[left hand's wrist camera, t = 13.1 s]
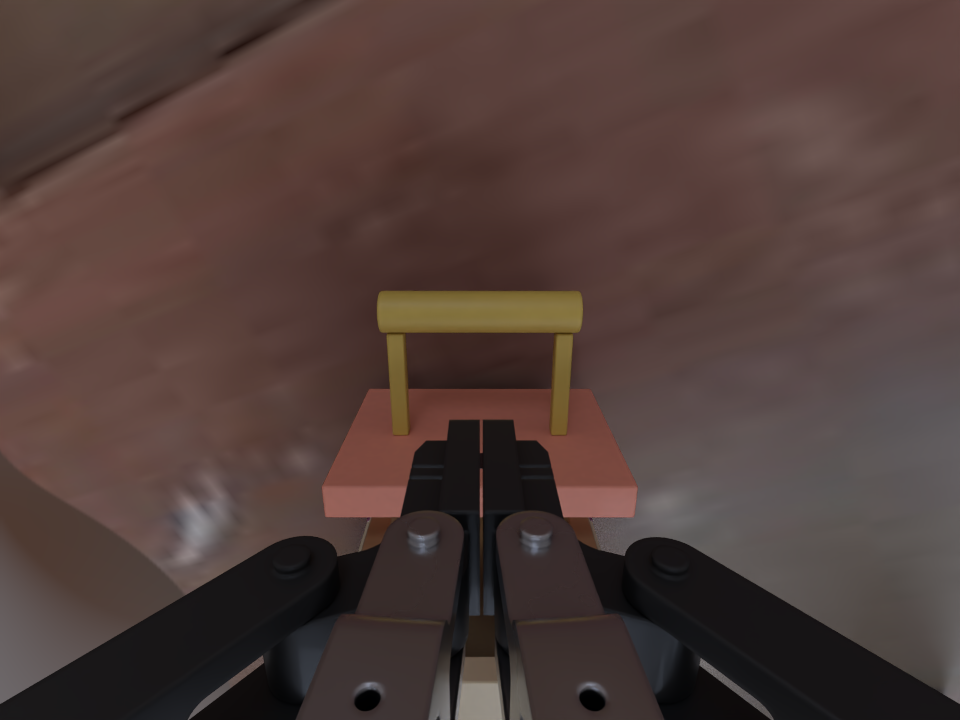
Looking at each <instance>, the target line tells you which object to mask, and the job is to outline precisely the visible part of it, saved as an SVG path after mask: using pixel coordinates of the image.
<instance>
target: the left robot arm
mask: <svg viewBox="0 0 960 720" xmlns="http://www.w3.org/2000/svg"><path fill="white" fill-rule="evenodd" d="M483 615H494V620H495V663H496V671H497V680H498V689H499V697H500V706H501V714H502V720H770V719H769V718H768V717H767V716H765V715H764V714H763V713H761V712H760V711H759V710H757V709H756V708H755V707H753V706H752V705H751V704H749V703H748V702H747V701H745V700H744V699H743V698H741V697H740V696H739V695H738V694H736V693H735V692H734V691H732V690H731V689H730V688H728V687H727V686H726V685H724V684H723V683H722V682H720V681H719V680H718V679H716V678H715V677H714V676H713V675H711V674H710V673H709V672H707V671H706V670H705V669H703V668H702V667H701V666H699V664H700V658H702V659H703V660H705V661H706V662H707V663H709V664H710V665H711V666H713V667H714V668H715V669H717V670H718V671H720V672H721V673H722V674H724V675H725V676H726V677H728V678H729V679H730V680H732V681H733V682H734V683H736V684H737V685H738V686H740V687H741V688H742V689H744V690H745V691H746V692H748V693H749V694H750V695H752V696H753V697H754V698H756V699H757V700H758V701H759V702H761V703H762V704H763V705H764V706H765V708H766V709H767V710H768V711H769V712H770V714H771V715H772V717H773V718H774V720H960V704H959V703H957V702H955V701H953V700H952V699H950V698H948V697H947V696H945V695H943V694H942V693H940V692H938V691H936V690H935V689H933V688H931V687H930V686H928V685H926V684H925V683H923V682H921V681H919V680H918V679H916V678H914V677H913V676H911V675H909V674H907V673H906V672H904V671H902V670H901V669H899V668H897V667H896V666H894V665H892V664H890V663H889V662H887V661H885V660H884V659H882V658H880V657H879V656H877V655H875V654H873V653H872V652H870V651H868V650H867V649H865V648H863V647H862V646H860V645H858V644H856V643H855V642H853V641H851V640H850V639H848V638H846V637H845V636H843V635H841V634H839V633H838V632H836V631H834V630H833V629H831V628H829V627H827V626H826V625H824V624H822V623H821V622H819V621H817V620H816V619H814V618H812V617H810V616H809V615H807V614H805V613H804V612H802V611H800V610H799V609H797V608H795V607H793V606H792V605H790V604H788V603H787V602H785V601H783V600H782V599H780V598H778V597H776V596H775V595H773V594H771V593H770V592H768V591H766V590H765V589H763V588H761V587H759V586H758V585H756V584H754V583H753V582H751V581H749V580H747V579H746V578H744V577H742V576H741V575H739V574H737V573H736V572H734V571H732V570H730V569H729V568H727V567H725V566H724V565H722V564H720V563H719V562H717V561H715V560H713V559H712V558H710V557H708V556H707V555H705V554H703V553H702V552H700V551H698V550H696V549H695V548H693V547H691V546H689V545H687V544H685V543H682V542H680V541H677V540H673V539H669V538H661V537H650V538H644V539H641V540H638V541H636V542H634V543H633V544H632V545H630V546H629V548H628V549H627V551H626V554H625V556H622V555H618V554H614V553H609V552H605V551H601V550H598V549H595V548H592V547H590V546H588V545H586V544H584V543H582V542H581V541H579V540H578V539H577V537H576V534H575V532H574V530H573V528H572V527H571V525H570V524H569V523H567V522H566V521H565V520H564V518H563V513H562V509H561V505H560V501H559V496H558V492H557V488H556V483H555V479H554V475H553V471H552V468H551V462H550V458H549V453H548V451H547V450H546V449H545V448H544V447H543V446H542V445H541V444H540V443H539V442H538V441H537V440H516V435H515V427H514V420H513V419H483ZM469 616H480V420H449V425H448V434H447V440H426V441H425V442H424V443H423V444H422V445H421V446H420V447H419V448H418V449H417V450H416V451H415V453H414V457H413V462H412V468H411V471H410V475H409V480H408V484H407V488H406V493H405V497H404V502H403V506H402V511H401V515H400V517H399V518H398V519H396V520H395V521H394V522H393V523H391V524H390V525H389V527H388V528H387V530H386V532H385V534H384V537H383V539H382V542H381V543H380V544H378V545H376V546H374V547H372V548H369V549H367V550H363V551H360V552H355V553H351V554H347V555H342V556H338V557H337V553H336V550H335V548H334V547H333V545H332V544H331V543H329V542H328V541H326V540H324V539H321V538H318V537H313V536H299V537H293V538H288V539H285V540H282V541H279V542H277V543H274V544H273V545H271V546H269V547H267V548H265V549H264V550H262V551H260V552H258V553H257V554H255V555H253V556H252V557H250V558H248V559H247V560H245V561H243V562H241V563H240V564H238V565H236V566H235V567H233V568H231V569H230V570H228V571H226V572H224V573H223V574H221V575H219V576H218V577H216V578H214V579H213V580H211V581H209V582H207V583H206V584H204V585H202V586H201V587H199V588H197V589H196V590H194V591H192V592H190V593H189V594H187V595H185V596H184V597H182V598H180V599H179V600H177V601H175V602H173V603H172V604H170V605H168V606H167V607H165V608H163V609H161V610H160V611H158V612H156V613H155V614H153V615H151V616H150V617H148V618H146V619H145V620H143V621H141V622H139V623H138V624H136V625H134V626H133V627H131V628H129V629H127V630H126V631H124V632H122V633H121V634H119V635H117V636H116V637H114V638H112V639H110V640H109V641H107V642H105V643H104V644H102V645H100V646H99V647H97V648H95V649H93V650H92V651H90V652H88V653H87V654H85V655H83V656H82V657H80V658H78V659H76V660H75V661H73V662H71V663H70V664H68V665H66V666H65V667H63V668H61V669H59V670H58V671H56V672H54V673H53V674H51V675H49V676H47V677H46V678H44V679H42V680H41V681H39V682H37V683H36V684H34V685H32V686H30V687H29V688H27V689H25V690H24V691H22V692H20V693H18V694H17V695H15V696H13V697H12V698H10V699H8V700H7V701H5V702H3V703H1V704H0V720H188V718H189V716H190V714H191V713H192V712H193V710H194V709H195V708H196V706H197V705H198V704H199V703H200V702H201V701H202V700H203V699H205V698H206V697H207V696H208V695H210V694H211V693H212V692H214V691H215V690H216V689H218V688H219V687H220V686H222V685H223V684H224V683H226V682H227V681H228V680H230V679H231V678H232V677H234V676H235V675H236V674H238V673H239V672H241V671H242V670H243V669H245V668H246V667H247V666H249V665H250V664H251V663H253V662H254V661H255V660H257V659H258V658H259V657H261V656H262V655H263V658H264V663H263V664H262V665H261V666H259V667H258V668H257V669H255V670H254V671H253V672H251V673H250V674H249V675H248V676H246V677H245V678H244V679H242V680H241V681H240V682H238V683H237V684H236V685H234V686H233V687H232V688H230V689H229V690H228V691H226V692H225V693H224V694H222V695H221V696H220V697H219V698H217V699H216V700H215V701H213V702H212V703H211V704H209V705H208V706H207V707H205V708H204V709H203V710H201V711H200V712H199V713H197V714H196V715H195V716H194V717H192V718H191V719H190V720H458V714H459V706H460V697H461V689H462V680H463V671H464V663H465V643H466V641H467V638H468V634H469Z"/></svg>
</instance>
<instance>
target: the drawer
mask: <svg viewBox="0 0 960 720" xmlns="http://www.w3.org/2000/svg"><path fill="white" fill-rule="evenodd" d="M582 319H583V301H582V296H581V293H580V292H579V291H380V292H379V295H378V300H377V321H378V327H379V330H380V332H382V333H387V351H388V367H389V383H390V389H369V390H368V392H367V394H366V396H365V398H364V400H363V403H362V405H361V407H360V409H359V411H358V413H357V415H356V417H355V419H354V421H353V423H352V425H351V427H350V429H349V432H348V434H347V436H346V438H345V440H344V442H343V444H342V446H341V448H340V450H339V452H338V454H337V456H336V458H335V460H334V463H333V465H332V467H331V469H330V471H329V473H328V475H327V477H326V479H325V481H324V483H323V485H322V494H323V502H324V511H325V516H326V517H371V520H370V523H369V526H368V529H367V533H366V536H365V539H364V543H363V546H362V549H361V551H363V550H367V549H369V548H372V547H374V546H376V545H378V544H380V543H381V542H382V539H383V537H384V534H385V532H386V530H387V528H388V527H389V525H390V524H391V523H393V522H394V521H395V520H396V519H398V518H399V517H400V515H401V511H402V506H403V502H404V497H405V493H406V488H407V484H408V480H409V475H410V471H411V468H412V462H413V457H414V453H415V451H416V450H417V449H418V448H419V447H420V446H421V445H422V444H423V443H424V442H425V441H426V440H447V434H448V425H449V420H480V616H469V634H468V638H467V641H466V643H465V657H495V620H494V615H483V419H513V420H514V427H515V435H516V440H537V441H538V442H539V443H540V444H541V445H542V446H543V447H544V448H545V449H546V450H547V451H548V453H549V458H550V462H551V468H552V471H553V475H554V479H555V483H556V488H557V492H558V496H559V501H560V505H561V509H562V513H563V518H564V520H565V521H566V522H567V523H569V524H570V525H571V527H572V528H573V530H574V532H575V534H576V537H577V539H578V540H579V541H581V542H582V543H584V544H586V545H588V546H590V547H592V548H595V549H598V547H597V544H596V541H595V537H594V534H593V531H592V528H591V524H590V521H589V518H588V517H634V515H635V507H636V499H637V491H638V486H637V484H636V482H635V480H634V478H633V476H632V474H631V472H630V470H629V468H628V466H627V464H626V461H625V459H624V457H623V455H622V453H621V451H620V449H619V447H618V445H617V443H616V441H615V439H614V437H613V435H612V433H611V430H610V428H609V426H608V424H607V422H606V420H605V418H604V416H603V414H602V412H601V410H600V408H599V406H598V404H597V402H596V400H595V397H594V395H593V393H592V391H591V389H570V378H571V362H572V347H573V334H572V333H578V332H579V331H580V329H581V326H582ZM406 333H554V347H553V367H552V386H551V389H408V373H407V353H406Z"/></svg>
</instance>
